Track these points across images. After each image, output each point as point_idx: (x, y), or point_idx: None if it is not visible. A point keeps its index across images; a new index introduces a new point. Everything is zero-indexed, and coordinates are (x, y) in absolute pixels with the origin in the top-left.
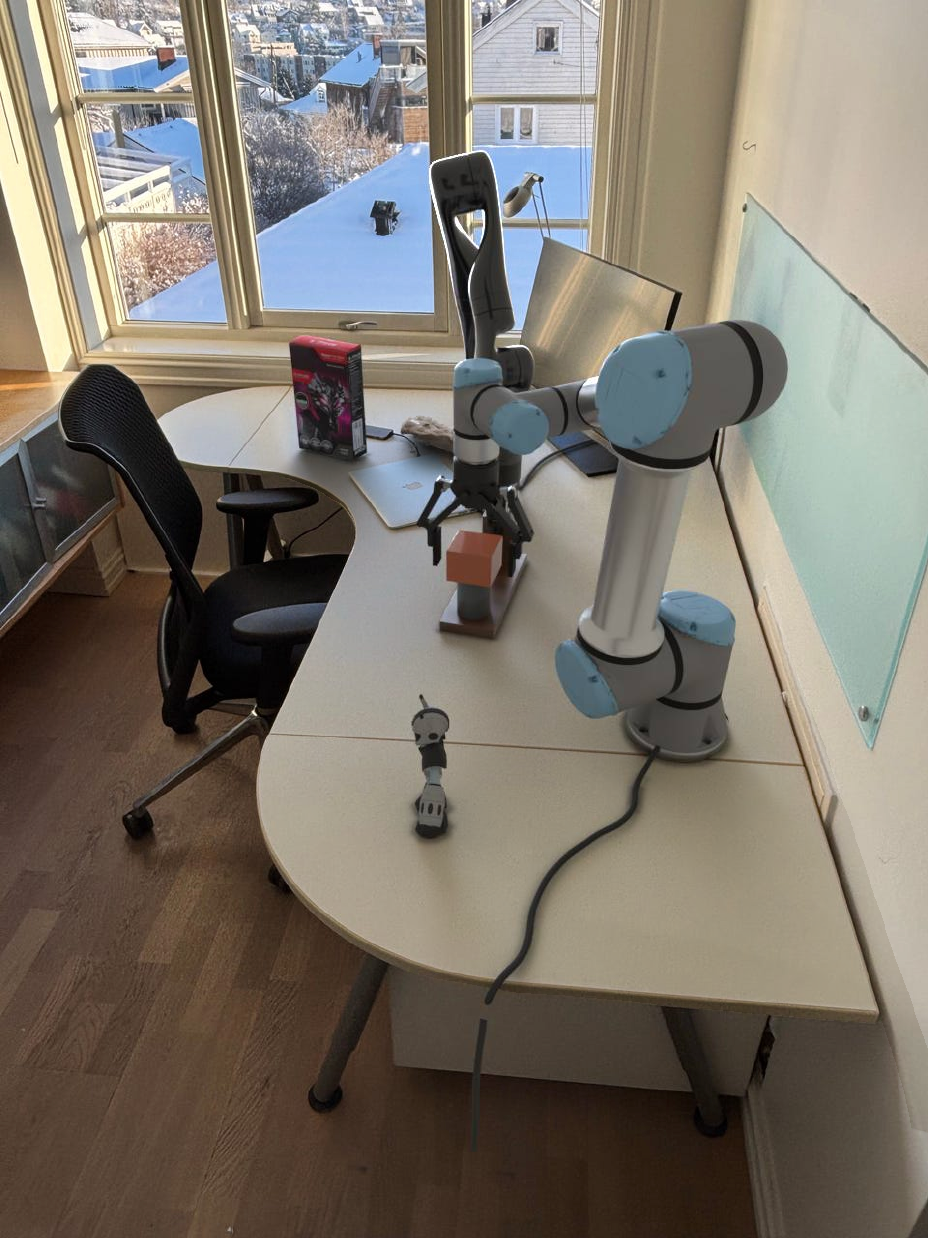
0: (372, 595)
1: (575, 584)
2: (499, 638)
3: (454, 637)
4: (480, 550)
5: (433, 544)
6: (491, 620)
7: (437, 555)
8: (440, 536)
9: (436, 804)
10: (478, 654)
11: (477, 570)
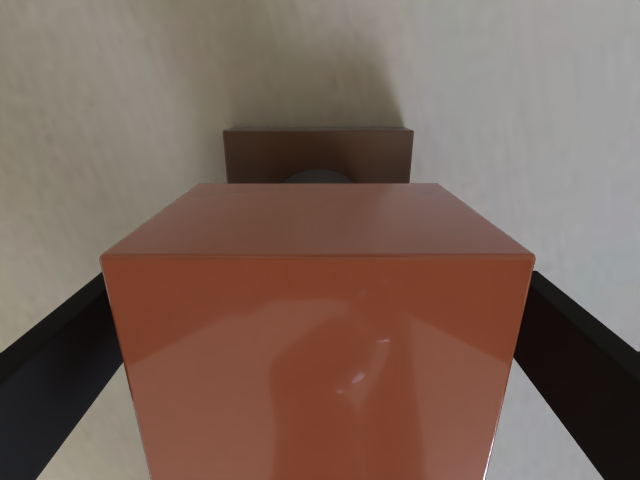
0: (635, 252)
1: (117, 423)
2: (215, 138)
3: (351, 103)
4: (237, 339)
5: (634, 353)
6: (247, 183)
7: (545, 312)
8: (595, 446)
9: None
10: (250, 26)
11: (256, 209)
